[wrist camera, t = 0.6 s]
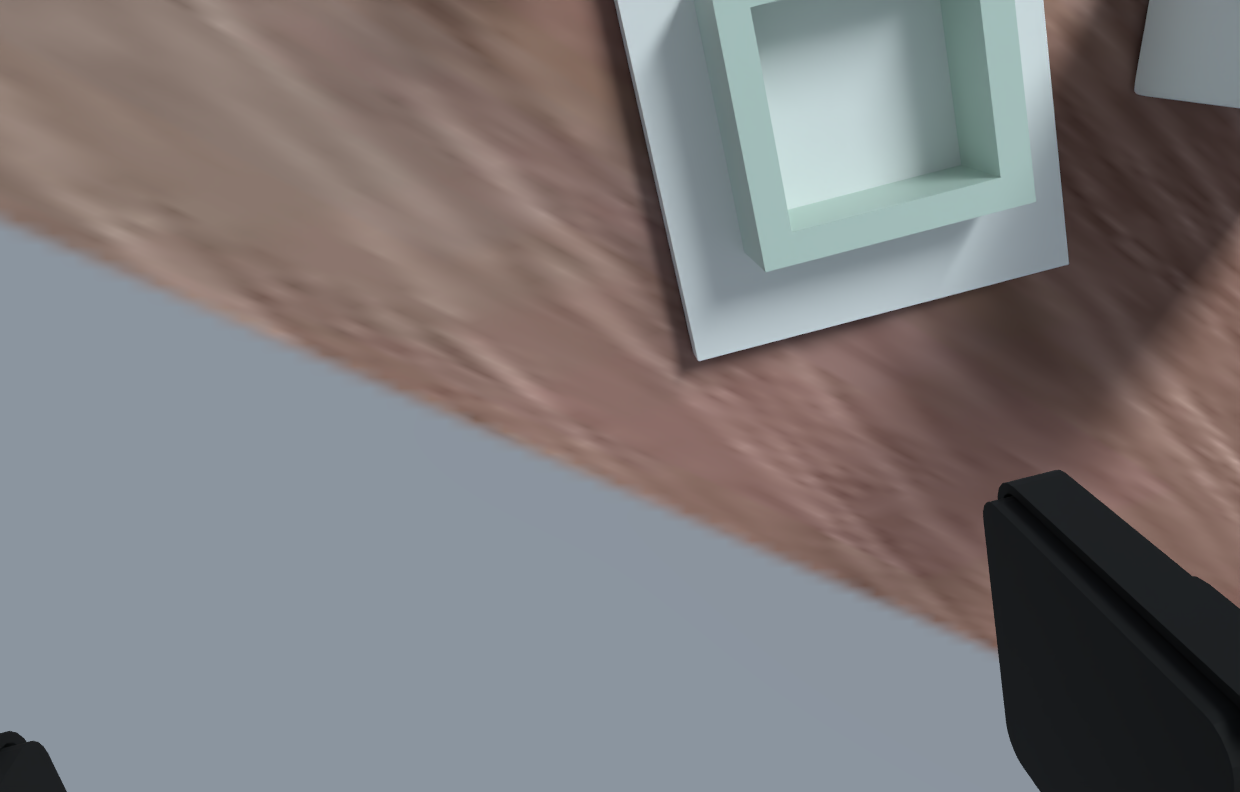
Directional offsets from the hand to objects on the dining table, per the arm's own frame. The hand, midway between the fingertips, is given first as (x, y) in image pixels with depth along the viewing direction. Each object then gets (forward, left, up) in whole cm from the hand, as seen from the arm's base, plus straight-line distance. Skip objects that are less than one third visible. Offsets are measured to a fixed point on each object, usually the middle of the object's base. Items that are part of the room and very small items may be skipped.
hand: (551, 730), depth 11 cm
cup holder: (-2, +12, -27) cm, 29 cm away
